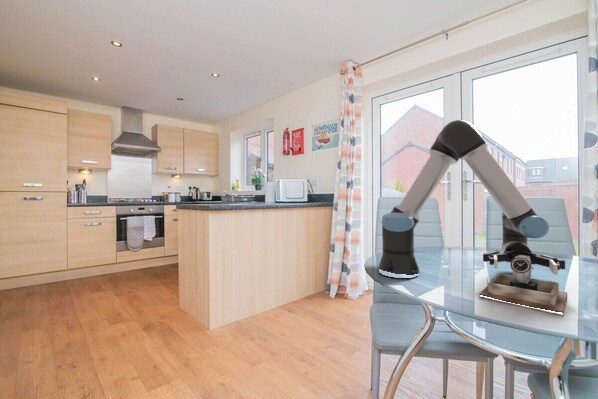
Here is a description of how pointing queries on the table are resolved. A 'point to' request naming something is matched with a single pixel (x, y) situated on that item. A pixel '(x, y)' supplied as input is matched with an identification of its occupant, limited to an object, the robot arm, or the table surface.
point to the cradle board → (527, 293)
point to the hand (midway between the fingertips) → (524, 266)
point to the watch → (522, 273)
